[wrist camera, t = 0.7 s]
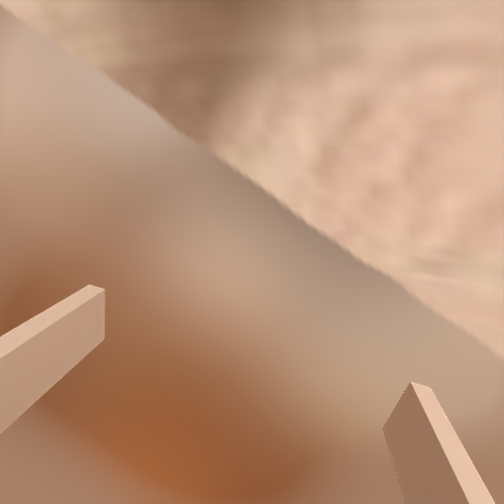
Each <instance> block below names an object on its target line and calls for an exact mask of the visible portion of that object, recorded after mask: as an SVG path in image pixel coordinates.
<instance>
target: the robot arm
mask: <svg viewBox="0 0 504 504" xmlns="http://www.w3.org/2000/svg"><path fill="white" fill-rule="evenodd" d="M104 338H105V289H103V288H99V287H96V286H93V285H90V284H89V285H87V286H86V287H84V288H82V289H81V290H79V291H77V292H76V293H74V294H72V295H70V296H69V297H67V298H65V299H64V300H62V301H60V302H59V303H57V304H55V305H54V306H52V307H50V308H48V309H47V310H45V311H43V312H42V313H40V314H38V315H37V316H35V317H33V318H32V319H30V320H28V321H26V322H25V323H23V324H21V325H20V326H18V327H16V328H15V329H13V330H11V331H10V332H8V333H6V334H4V335H3V336H1V337H0V434H1V433H2V432H3V431H4V430H5V429H6V428H7V427H8V426H9V425H10V424H12V423H13V422H14V421H15V420H16V419H17V418H18V417H19V416H20V415H21V414H23V413H24V412H25V411H26V410H27V409H28V408H29V407H30V406H31V405H32V404H33V403H35V402H36V401H37V400H38V399H39V398H40V397H41V396H42V395H43V394H45V393H46V392H47V391H48V390H49V389H50V388H51V387H52V386H53V385H54V384H55V383H56V382H58V381H59V380H60V379H61V378H62V377H63V376H64V375H65V374H66V373H67V372H69V371H70V370H71V369H72V368H73V367H74V366H75V365H76V364H78V363H79V362H80V361H81V360H82V359H83V358H84V357H85V356H86V355H87V354H88V353H89V352H91V351H92V350H93V349H94V348H95V347H96V346H97V345H98V344H99V343H101V342H102V341H103V340H104ZM383 431H384V435H385V438H386V441H387V445H388V448H389V452H390V455H391V458H392V462H393V465H394V468H395V472H396V475H397V478H398V482H399V485H400V489H401V492H402V495H403V499H404V502H405V504H495V502H494V501H493V499H492V497H491V495H490V494H489V492H488V490H487V488H486V486H485V484H484V483H483V481H482V479H481V477H480V475H479V474H478V472H477V470H476V469H475V467H474V465H473V463H472V461H471V459H470V458H469V456H468V454H467V452H466V450H465V449H464V447H463V445H462V443H461V441H460V440H459V438H458V436H457V434H456V433H455V431H454V429H453V427H452V425H451V424H450V422H449V420H448V418H447V417H446V415H445V413H444V411H443V409H442V407H441V406H440V404H439V402H438V400H437V398H436V397H435V395H434V393H433V391H432V390H431V388H430V387H427V386H423V385H420V384H417V383H413V382H410V383H409V385H408V387H407V388H406V390H405V391H404V393H403V395H402V397H401V398H400V400H399V402H398V403H397V405H396V407H395V408H394V410H393V412H392V413H391V415H390V417H389V418H388V420H387V422H386V423H385V425H384V427H383Z"/></svg>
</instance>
